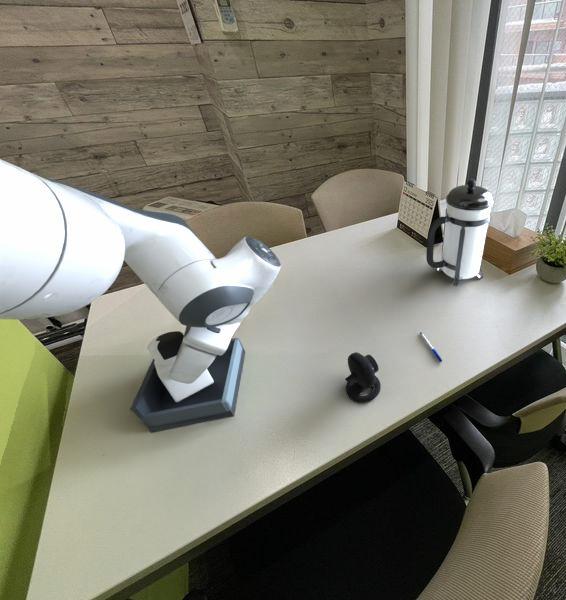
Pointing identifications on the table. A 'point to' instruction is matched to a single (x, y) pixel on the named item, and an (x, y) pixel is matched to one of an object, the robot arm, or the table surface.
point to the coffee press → (462, 232)
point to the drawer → (197, 407)
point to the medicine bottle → (164, 357)
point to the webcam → (362, 377)
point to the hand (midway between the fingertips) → (180, 357)
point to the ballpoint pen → (431, 347)
